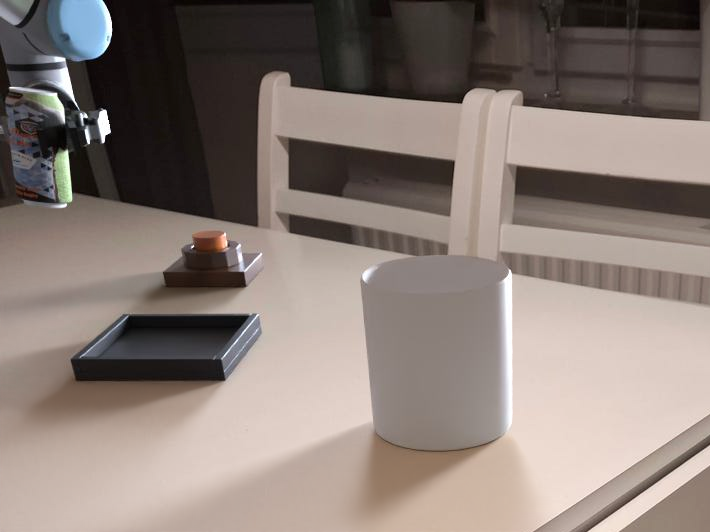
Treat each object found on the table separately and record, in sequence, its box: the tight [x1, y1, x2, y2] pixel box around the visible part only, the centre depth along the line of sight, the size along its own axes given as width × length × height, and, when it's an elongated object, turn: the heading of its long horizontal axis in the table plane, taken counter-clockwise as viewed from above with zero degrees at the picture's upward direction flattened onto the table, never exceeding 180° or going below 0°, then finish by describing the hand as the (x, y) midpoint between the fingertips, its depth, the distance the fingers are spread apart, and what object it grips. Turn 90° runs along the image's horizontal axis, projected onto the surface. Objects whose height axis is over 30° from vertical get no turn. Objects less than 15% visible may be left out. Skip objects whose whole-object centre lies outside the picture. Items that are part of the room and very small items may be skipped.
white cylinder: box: [359, 254, 513, 452], centre depth 81 cm, size 12×12×12 cm
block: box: [162, 239, 265, 288], centre depth 124 cm, size 10×9×4 cm
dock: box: [70, 313, 263, 381], centre depth 100 cm, size 15×15×2 cm
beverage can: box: [4, 86, 73, 209], centre depth 114 cm, size 6×7×12 cm
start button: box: [191, 230, 228, 251], centre depth 122 cm, size 4×4×2 cm
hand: (59, 142), depth 110 cm, fingers closed on beverage can, 3 cm apart
